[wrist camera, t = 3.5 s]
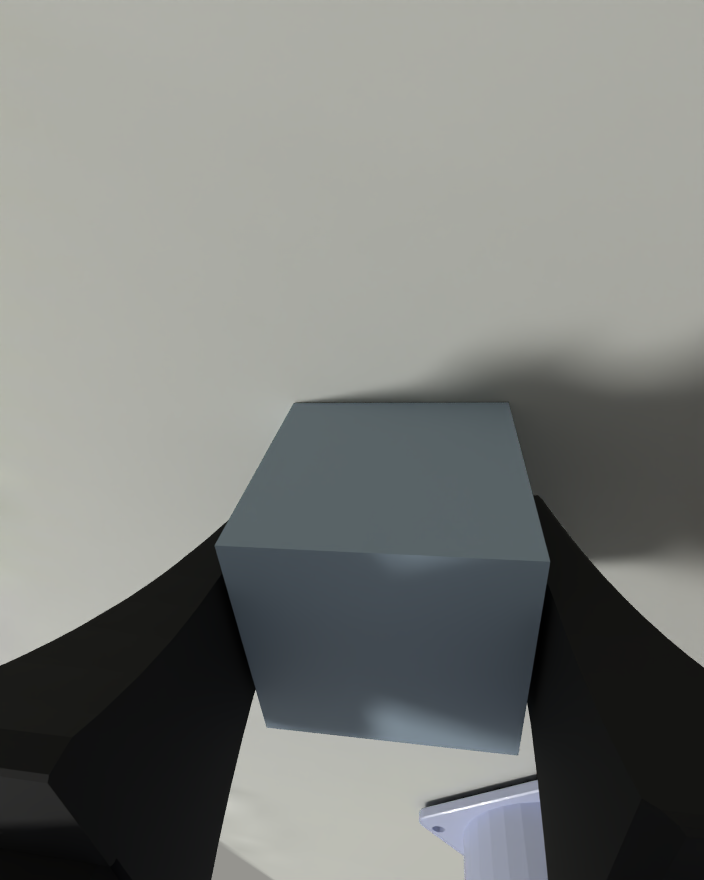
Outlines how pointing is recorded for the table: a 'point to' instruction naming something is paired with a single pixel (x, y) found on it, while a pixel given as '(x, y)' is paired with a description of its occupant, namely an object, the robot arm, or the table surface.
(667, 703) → the robot arm
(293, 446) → the slate cube
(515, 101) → the table surface
